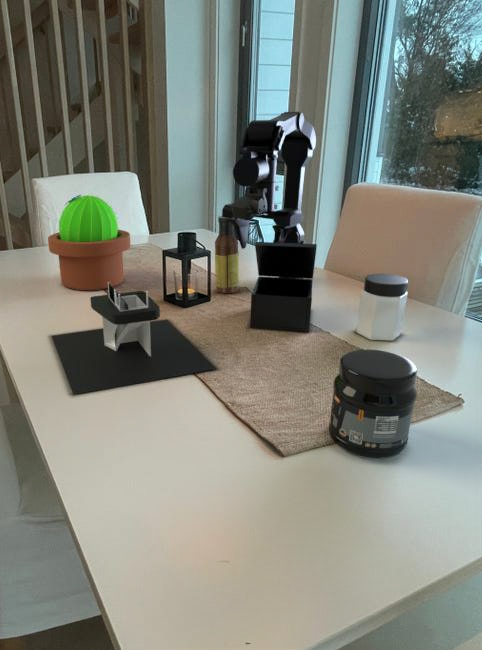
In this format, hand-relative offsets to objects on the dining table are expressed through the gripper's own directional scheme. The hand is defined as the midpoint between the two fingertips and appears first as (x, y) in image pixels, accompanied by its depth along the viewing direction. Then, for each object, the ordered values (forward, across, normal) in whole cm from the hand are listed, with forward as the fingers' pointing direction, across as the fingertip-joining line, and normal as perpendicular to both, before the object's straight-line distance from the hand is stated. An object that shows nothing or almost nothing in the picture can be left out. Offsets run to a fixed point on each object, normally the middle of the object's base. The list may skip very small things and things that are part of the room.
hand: (259, 251), depth 120 cm
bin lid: (+1, +8, -2) cm, 9 cm away
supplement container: (+14, +45, -37) cm, 60 cm away
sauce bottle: (+14, -14, +6) cm, 21 cm away
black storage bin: (+14, +9, -3) cm, 17 cm away
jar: (+14, +29, +3) cm, 33 cm away
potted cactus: (+14, -48, -13) cm, 52 cm away
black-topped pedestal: (+14, -3, -39) cm, 41 cm away
